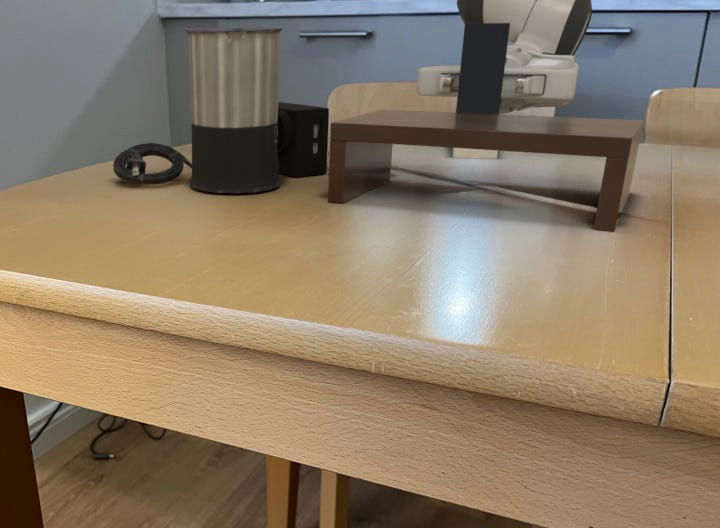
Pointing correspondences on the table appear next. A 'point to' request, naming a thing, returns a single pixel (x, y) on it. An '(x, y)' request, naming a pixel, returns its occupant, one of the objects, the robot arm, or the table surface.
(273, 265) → the table surface
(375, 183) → the monitor stand
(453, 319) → the table surface
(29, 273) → the table surface
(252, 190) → the milk frother
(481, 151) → the tall dark upright panel
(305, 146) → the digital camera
